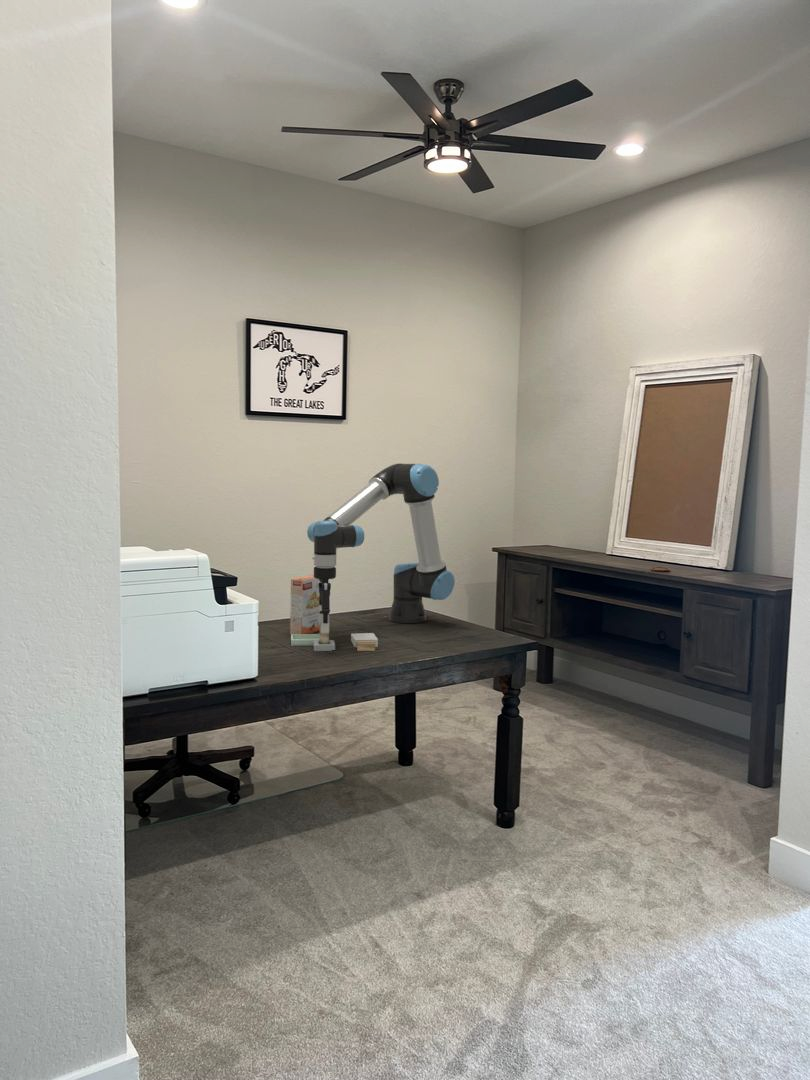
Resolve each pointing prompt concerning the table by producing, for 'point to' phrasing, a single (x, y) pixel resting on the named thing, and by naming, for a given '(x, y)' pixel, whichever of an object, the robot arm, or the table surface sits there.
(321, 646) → the holder
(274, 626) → the table surface
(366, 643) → the wooden block
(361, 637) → the white rectangular block
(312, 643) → the tray
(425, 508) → the robot arm
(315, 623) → the cracker box
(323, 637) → the pestle
